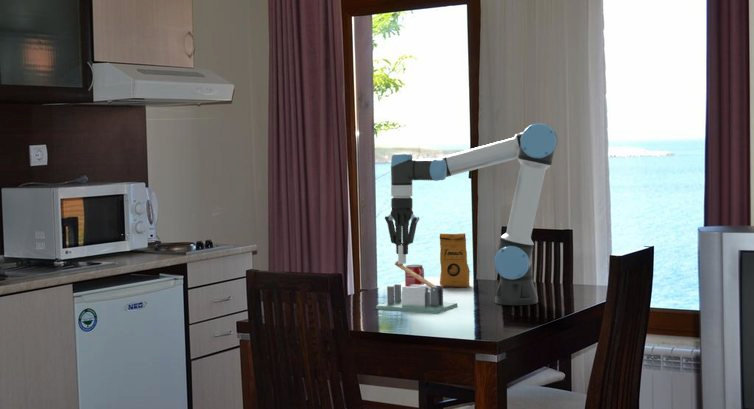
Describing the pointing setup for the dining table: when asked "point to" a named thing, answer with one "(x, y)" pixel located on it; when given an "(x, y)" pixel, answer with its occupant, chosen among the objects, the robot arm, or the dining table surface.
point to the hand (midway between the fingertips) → (402, 263)
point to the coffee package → (453, 261)
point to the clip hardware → (396, 293)
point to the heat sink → (416, 295)
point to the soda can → (409, 278)
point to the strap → (414, 275)
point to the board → (398, 307)
